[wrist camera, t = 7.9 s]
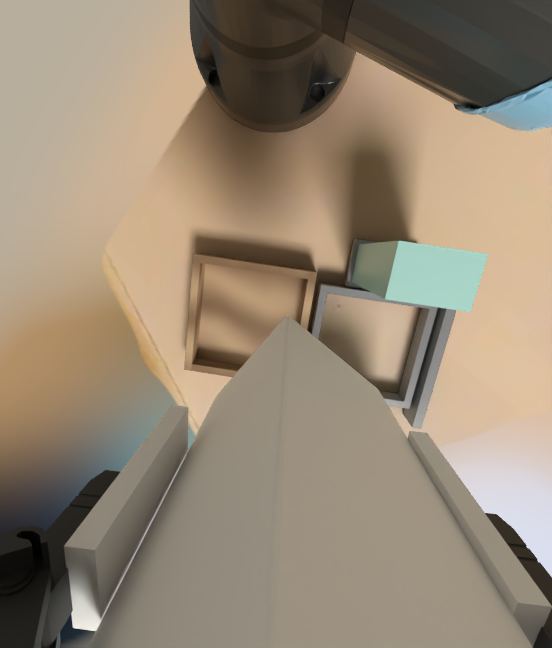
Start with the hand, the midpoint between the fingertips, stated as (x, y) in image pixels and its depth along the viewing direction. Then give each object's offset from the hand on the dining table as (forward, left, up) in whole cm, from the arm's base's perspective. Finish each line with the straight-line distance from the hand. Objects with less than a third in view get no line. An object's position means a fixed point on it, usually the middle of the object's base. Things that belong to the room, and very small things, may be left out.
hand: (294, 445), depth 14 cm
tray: (0, -5, -22) cm, 23 cm away
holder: (+1, +9, -22) cm, 24 cm away
